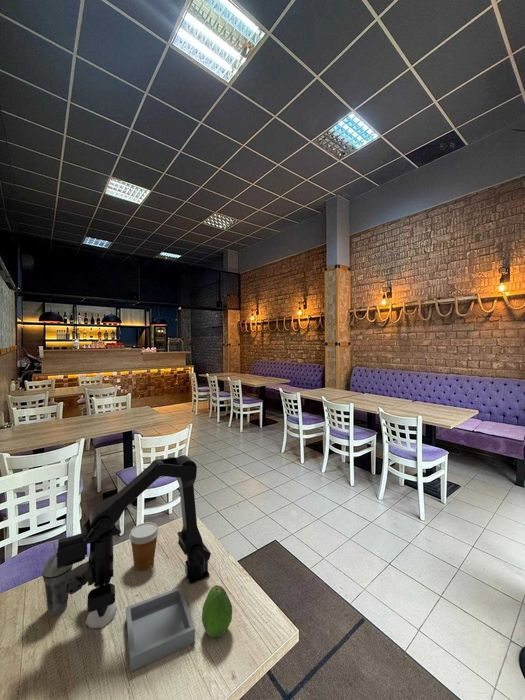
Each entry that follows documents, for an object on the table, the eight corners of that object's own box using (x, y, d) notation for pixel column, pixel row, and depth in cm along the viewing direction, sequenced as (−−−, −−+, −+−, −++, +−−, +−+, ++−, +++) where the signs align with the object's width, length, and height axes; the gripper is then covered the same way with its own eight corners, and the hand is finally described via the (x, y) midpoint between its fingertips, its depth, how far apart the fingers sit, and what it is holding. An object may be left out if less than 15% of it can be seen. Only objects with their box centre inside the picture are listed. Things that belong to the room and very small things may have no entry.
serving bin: (181, 598, 89) (181, 586, 89) (194, 642, 76) (194, 628, 75) (126, 619, 82) (126, 607, 82) (130, 672, 68) (130, 657, 68)
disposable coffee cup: (140, 578, 96) (140, 542, 96) (123, 567, 101) (123, 532, 101) (164, 561, 104) (164, 527, 104) (147, 550, 109) (147, 518, 109)
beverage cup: (78, 603, 87) (78, 535, 86) (52, 624, 80) (52, 550, 80) (63, 594, 90) (63, 528, 90) (36, 613, 83) (36, 543, 83)
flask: (103, 632, 78) (103, 594, 78) (79, 626, 79) (79, 589, 79) (121, 608, 85) (121, 574, 85) (99, 603, 86) (99, 570, 86)
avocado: (202, 649, 74) (202, 602, 74) (201, 621, 81) (201, 578, 81) (234, 642, 75) (234, 596, 75) (230, 615, 83) (230, 573, 83)
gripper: (70, 541, 86) (70, 594, 87) (62, 587, 70) (62, 653, 70) (112, 530, 92) (112, 580, 92) (115, 571, 75) (115, 631, 75)
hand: (101, 608), depth 82 cm, fingers closed on flask, 5 cm apart
